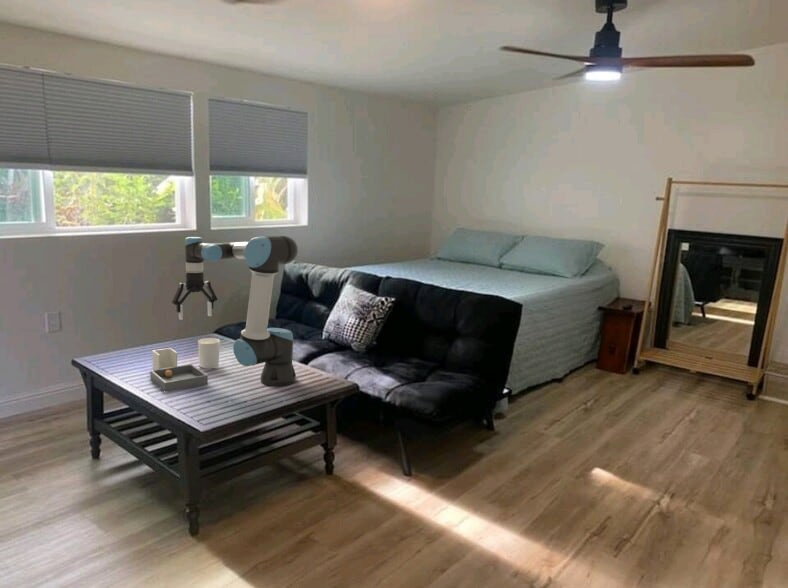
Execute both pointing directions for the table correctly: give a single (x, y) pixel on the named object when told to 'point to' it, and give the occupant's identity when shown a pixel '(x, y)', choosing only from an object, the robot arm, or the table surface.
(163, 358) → the cream open-top bin
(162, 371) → the tray
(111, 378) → the table surface
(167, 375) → the ball
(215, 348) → the candle holder
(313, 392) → the table surface
